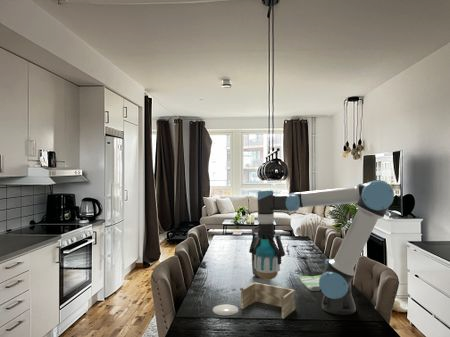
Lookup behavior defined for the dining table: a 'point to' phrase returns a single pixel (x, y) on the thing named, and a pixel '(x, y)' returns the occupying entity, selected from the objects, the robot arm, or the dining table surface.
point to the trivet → (225, 310)
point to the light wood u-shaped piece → (269, 296)
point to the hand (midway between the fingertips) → (267, 269)
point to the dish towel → (311, 282)
